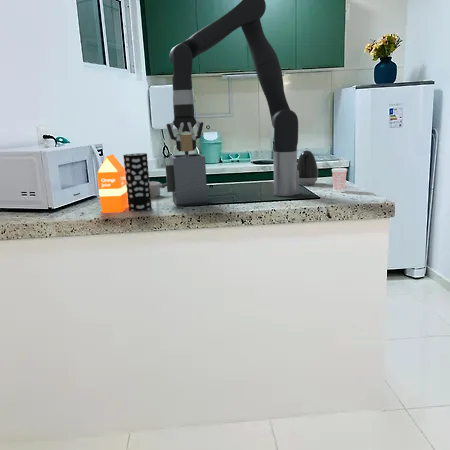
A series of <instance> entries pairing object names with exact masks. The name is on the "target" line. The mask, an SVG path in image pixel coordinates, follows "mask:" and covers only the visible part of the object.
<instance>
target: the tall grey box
mask: <svg viewBox="0 0 450 450" xmlns="http://www.w3.org/2000/svg"><path fill="white" fill-rule="evenodd" d="M164 166H165V175H166V176H165V177H166V183H167V186H166V190H167V193H171V195H172V203H174V205H175V207H176V208H183V207H192V206H193V207H194V206H195V207H197V206H204V205H208V188H207V186H208V185H207V170H206V168H207V167H206V156H205V155H203V154H201V153H189V157H185V154H173V155H169V164H165V165H164Z"/></svg>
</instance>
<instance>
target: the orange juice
mask: <svg viewBox="0 0 450 450" xmlns="http://www.w3.org/2000/svg"><path fill="white" fill-rule="evenodd" d="M104 158H105V159H104V160H103V162H102V164H101V165H100V168H98V170H97V172H96V173H97V174H96V175H97V185H98V194H99V200H100V209H101V213H104V214H105V213H107V214H108V213H122V212H124V211H125V210H127V208H129V207H128V197H127V187H126V177H125V167H124V166H123V165H122V164H121V163H120V161H119V160H118V159H117V157H115V155H114V154H110V155H107V156H106V157H104Z"/></svg>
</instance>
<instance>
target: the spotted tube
mask: <svg viewBox="0 0 450 450" xmlns="http://www.w3.org/2000/svg"><path fill="white" fill-rule="evenodd" d="M122 156H123V165H124V166H123V168H124V170H125V180H126V189H127V200H128V207H127V208H128V211H130V212H145V211H149V210H151V209H152V200H151V199H152V198H151V195H150V183H149V182H150V174H149V162H148V161H149V160H148V153H145V152H142V153H141V152H140V153H135V152H134V153H127V154H123V155H122Z"/></svg>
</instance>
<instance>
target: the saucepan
mask: <svg viewBox="0 0 450 450" xmlns="http://www.w3.org/2000/svg"><path fill="white" fill-rule="evenodd" d="M149 183H150V195H151V199H153V197H154V198H157V197H158V196H159V195H161V189H165V188H167V182H165V183H161V182H159V181H149ZM156 196H157V197H156Z"/></svg>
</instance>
